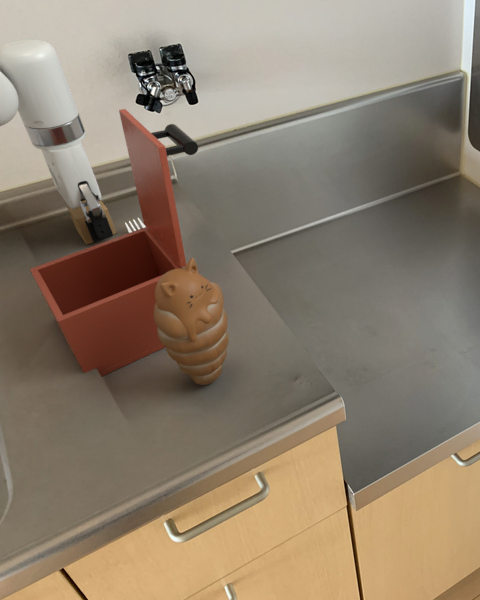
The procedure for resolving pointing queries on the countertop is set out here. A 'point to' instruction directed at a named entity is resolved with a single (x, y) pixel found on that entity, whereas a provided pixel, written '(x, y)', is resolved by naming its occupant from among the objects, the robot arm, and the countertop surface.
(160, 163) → the bin lid
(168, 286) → the cat ice cream
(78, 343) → the trash can
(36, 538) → the countertop surface
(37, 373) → the countertop surface
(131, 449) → the countertop surface
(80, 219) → the carton
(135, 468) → the countertop surface
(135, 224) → the fork
